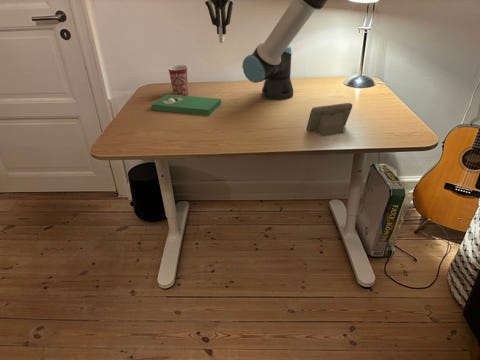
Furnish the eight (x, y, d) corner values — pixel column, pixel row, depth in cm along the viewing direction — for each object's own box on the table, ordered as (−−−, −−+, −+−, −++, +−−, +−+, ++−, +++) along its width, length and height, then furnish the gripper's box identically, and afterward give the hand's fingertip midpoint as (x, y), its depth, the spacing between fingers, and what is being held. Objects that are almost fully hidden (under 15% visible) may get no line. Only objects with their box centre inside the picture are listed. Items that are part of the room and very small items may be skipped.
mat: (221, 104, 160) (221, 98, 159) (209, 115, 149) (208, 109, 148) (167, 99, 169) (166, 94, 167) (152, 109, 158) (151, 104, 156)
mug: (189, 97, 169) (186, 69, 162) (170, 98, 169) (166, 70, 162) (191, 89, 180) (188, 62, 173) (174, 89, 180) (170, 63, 173)
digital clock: (345, 125, 136) (349, 98, 130) (352, 135, 128) (356, 107, 123) (304, 127, 136) (305, 101, 130) (308, 137, 128) (310, 110, 122)
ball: (169, 96, 161) (170, 103, 163) (165, 99, 158) (166, 106, 160) (176, 97, 160) (177, 104, 162) (172, 100, 157) (173, 107, 159)
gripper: (236, -19, 147) (238, 40, 159) (207, -18, 150) (212, 39, 163) (229, -18, 141) (232, 44, 153) (200, -17, 144) (205, 43, 157)
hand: (222, 41), depth 158 cm, fingers closed
